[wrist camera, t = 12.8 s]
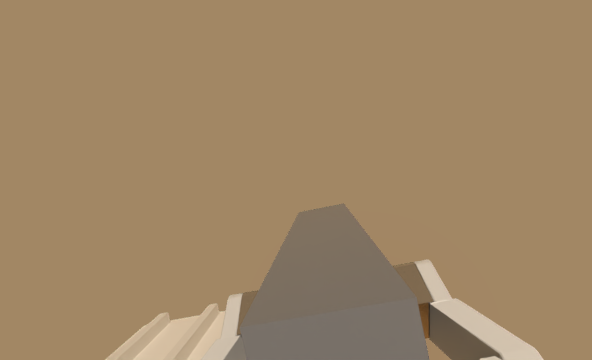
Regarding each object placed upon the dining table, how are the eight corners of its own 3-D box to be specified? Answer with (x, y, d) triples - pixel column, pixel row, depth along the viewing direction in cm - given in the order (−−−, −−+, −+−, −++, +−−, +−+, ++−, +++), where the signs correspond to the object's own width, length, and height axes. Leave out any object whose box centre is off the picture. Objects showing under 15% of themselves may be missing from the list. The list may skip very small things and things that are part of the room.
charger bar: (444, 431, 7) (416, 297, 7) (266, 455, 7) (239, 327, 7) (350, 237, 27) (343, 203, 27) (305, 245, 27) (298, 212, 27)
